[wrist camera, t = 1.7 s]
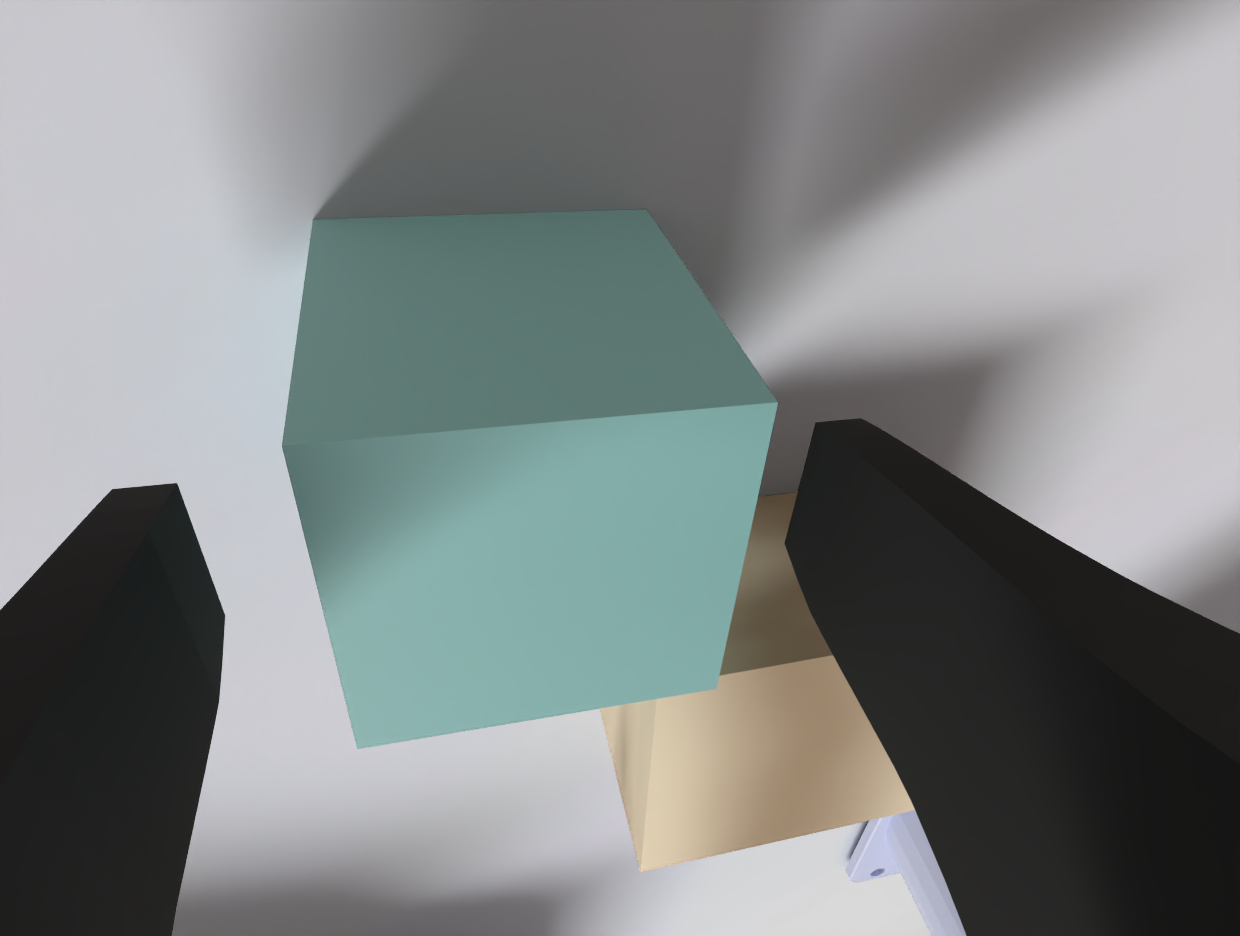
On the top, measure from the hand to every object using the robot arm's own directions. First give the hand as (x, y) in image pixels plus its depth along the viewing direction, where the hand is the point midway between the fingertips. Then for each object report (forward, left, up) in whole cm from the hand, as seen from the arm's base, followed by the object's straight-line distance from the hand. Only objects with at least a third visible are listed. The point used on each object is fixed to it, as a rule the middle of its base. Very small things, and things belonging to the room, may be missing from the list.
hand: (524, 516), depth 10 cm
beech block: (-5, +7, -4) cm, 9 cm away
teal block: (0, 0, -4) cm, 4 cm away
